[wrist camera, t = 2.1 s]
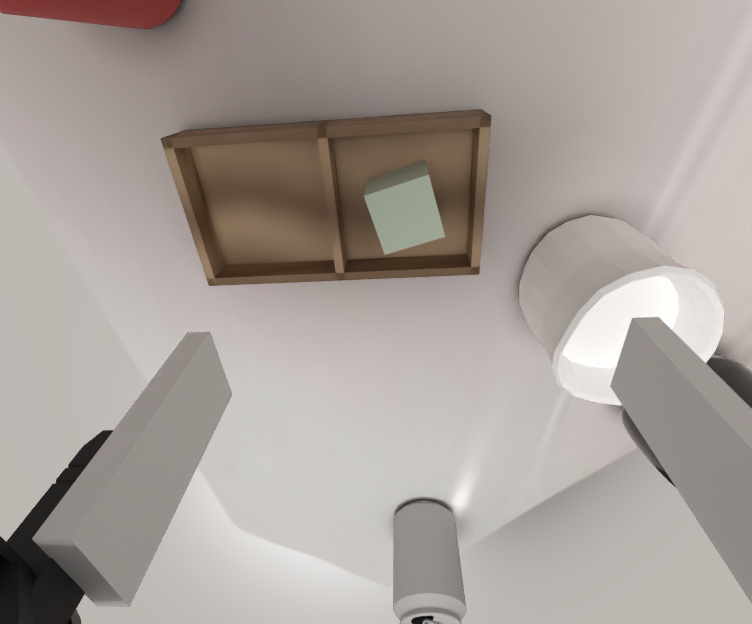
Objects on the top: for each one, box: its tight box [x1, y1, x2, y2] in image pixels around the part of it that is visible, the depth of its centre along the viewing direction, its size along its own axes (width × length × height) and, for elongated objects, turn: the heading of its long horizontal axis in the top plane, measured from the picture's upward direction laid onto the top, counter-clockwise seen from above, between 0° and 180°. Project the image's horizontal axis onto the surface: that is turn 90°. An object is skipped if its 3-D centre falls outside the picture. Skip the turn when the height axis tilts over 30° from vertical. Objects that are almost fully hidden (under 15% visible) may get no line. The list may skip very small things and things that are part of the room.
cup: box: [519, 215, 724, 405], centre depth 28 cm, size 10×10×10 cm
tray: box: [161, 110, 491, 286], centre depth 28 cm, size 10×20×3 cm, turn 94°
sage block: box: [364, 160, 445, 255], centre depth 26 cm, size 4×4×4 cm
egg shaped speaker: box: [622, 354, 752, 486], centre depth 30 cm, size 10×10×15 cm
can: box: [393, 500, 466, 624], centre depth 45 cm, size 8×8×12 cm
